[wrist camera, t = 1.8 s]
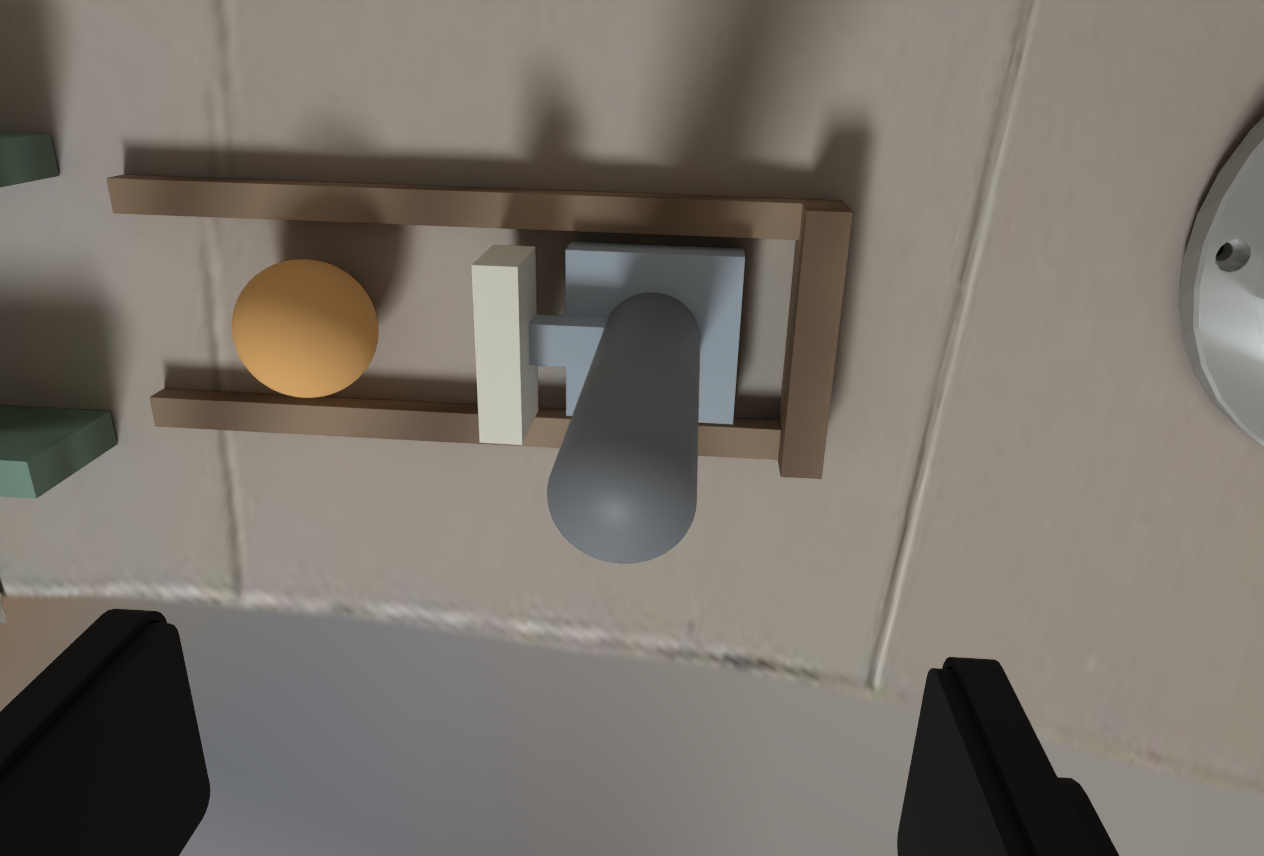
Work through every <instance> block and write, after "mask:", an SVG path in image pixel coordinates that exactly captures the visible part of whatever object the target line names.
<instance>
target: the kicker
mask: <svg viewBox="0 0 1264 856" xmlns="http://www.w3.org/2000/svg"><path fill="white" fill-rule="evenodd" d="M565 265H566V316H558V315H537V308H536V251H535V246H510V245H493V246H492V247H491V248H490V249H489V250H487V251H486V252H485V253H484V254H483V255H482V256H481V257H480V258H479V259H478V260H477V261H475V262H474V263H473V264H472V285H473V307H474V329H475V351H476V373H477V395H478V417H479V439H480V443H496V444H514V445H522V444H523V442H524V440H525V438H526V436H527V434H528V431H529V429H530V427H531V425H532V423H533V421H534V419H535V416H536V414H537V412H538V366H558V367H566V416H572V417H571V420H570V423H569V426H568V428H567V431H566V434H565V437H564V439H563V442H562V445H561V447H560V450H559V453H558V456H557V458H556V461H555V464H554V466H553V469H552V472H551V475H550V477H549V482H548V489H547V499H548V506H549V510H550V513H551V516H552V519H553V521H554V523H555V525H556V526H557V528H558V530H559V531H560V532H561V534H562V535H563V536H564V537H565V538H566V539H567V540H568V541H569V542H570V543H571V544H572V545H573V546H575V547H576V548H577V549H579V550H580V551H582V552H583V553H585V554H587V555H589V556H591V557H594V558H596V559H599V560H602V561H607V562H611V563H620V564H630V563H639V562H643V561H648V560H651V559H653V558H656V557H658V556H660V555H662V554H664V553H666V552H667V551H669V550H670V549H672V548H673V547H674V546H675V545H676V544H677V543H679V542H680V540H681V539H682V538H683V537H684V536H685V534H686V533H687V531H688V529H689V528H690V526H691V523H692V521H693V518H694V515H695V511H696V503H697V462H698V422H699V423H718V424H733V416H734V402H735V389H736V375H737V361H738V348H739V334H740V321H741V307H742V293H743V280H744V266H745V254H744V248H722V247H697V246H672V245H646V244H621V243H596V242H571V243H570V244H569V246H568V247H567V248H566V250H565Z"/></svg>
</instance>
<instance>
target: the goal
mask: <svg viewBox="0 0 1264 856" xmlns="http://www.w3.org/2000/svg"><path fill="white" fill-rule="evenodd" d="M55 176H59V172H58V168H57V163H56V158H55V154H54V149H53V145H52V140H51V135H50V134H42V133H12V132H0V187H5V186H10V185H15V184H20V183H25V182H30V181H35V180H40V179H45V178H50V177H55ZM115 445H117V440H116V436H115V431H114V426H113V422H112V417H111V412H110V411H99V410H80V409H61V408H42V407H23V406H4V405H0V496H5V497H21V498H38V497H39V496H41V495H42V494H44V493H45V492H47V491H48V490H50V489H51V488H53V487H54V486H56V485H57V484H59V483H60V482H62V481H63V480H65V479H66V478H68V477H69V476H71V475H72V474H74V473H75V472H77V471H78V470H79V469H81V468H82V467H84V466H85V465H87V464H88V463H90V462H91V461H93V460H94V459H96V458H97V457H99V456H100V455H102V454H103V453H105V452H106V451H108V450H109V449H111V448H112V447H114V446H115Z"/></svg>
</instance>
